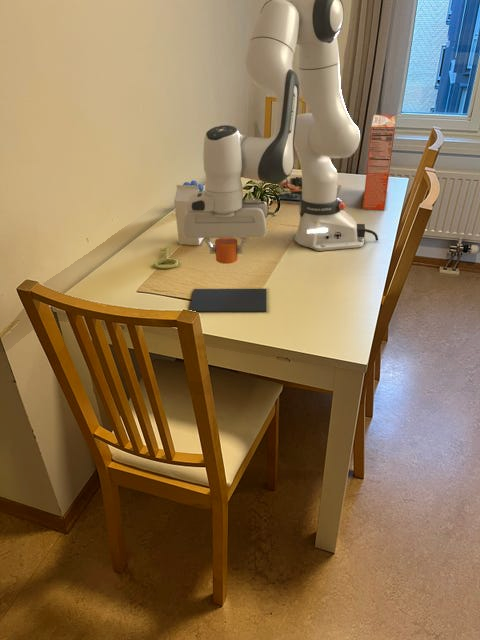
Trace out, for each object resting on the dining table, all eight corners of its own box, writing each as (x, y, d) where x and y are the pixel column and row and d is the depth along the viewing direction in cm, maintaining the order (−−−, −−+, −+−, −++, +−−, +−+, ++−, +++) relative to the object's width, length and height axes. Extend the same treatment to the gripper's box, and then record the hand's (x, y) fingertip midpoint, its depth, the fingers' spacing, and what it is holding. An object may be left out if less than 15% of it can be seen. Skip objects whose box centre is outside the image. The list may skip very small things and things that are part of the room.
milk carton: (199, 245, 166) (194, 189, 156) (178, 244, 167) (173, 188, 157) (204, 237, 171) (201, 182, 161) (184, 236, 173) (179, 181, 163)
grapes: (210, 208, 197) (209, 177, 190) (204, 214, 191) (202, 183, 185) (183, 206, 200) (180, 176, 194) (176, 211, 194) (173, 181, 188)
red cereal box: (365, 190, 210) (373, 114, 194) (385, 191, 208) (395, 115, 193) (362, 208, 191) (371, 126, 176) (384, 210, 190) (395, 127, 174)
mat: (266, 289, 138) (266, 288, 138) (266, 312, 128) (266, 310, 128) (194, 290, 139) (194, 288, 139) (188, 312, 129) (188, 310, 129)
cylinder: (238, 254, 129) (237, 236, 127) (237, 263, 125) (236, 245, 122) (216, 254, 130) (216, 236, 127) (215, 263, 125) (214, 245, 122)
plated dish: (244, 200, 204) (244, 182, 200) (262, 181, 227) (262, 165, 223) (330, 207, 195) (332, 188, 191) (339, 187, 218) (341, 170, 214)
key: (168, 251, 162) (168, 245, 161) (180, 266, 152) (179, 260, 151) (147, 256, 160) (146, 249, 158) (157, 271, 150) (156, 265, 149)
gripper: (267, 194, 121) (267, 247, 129) (184, 195, 122) (188, 248, 129) (267, 203, 116) (267, 258, 123) (180, 204, 117) (185, 258, 124)
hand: (226, 252), depth 126 cm, fingers closed on cylinder, 5 cm apart
